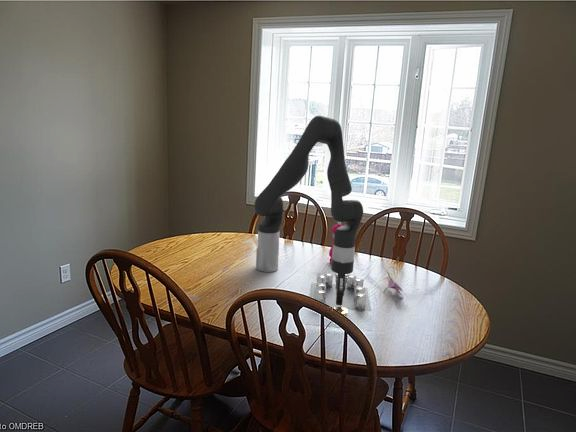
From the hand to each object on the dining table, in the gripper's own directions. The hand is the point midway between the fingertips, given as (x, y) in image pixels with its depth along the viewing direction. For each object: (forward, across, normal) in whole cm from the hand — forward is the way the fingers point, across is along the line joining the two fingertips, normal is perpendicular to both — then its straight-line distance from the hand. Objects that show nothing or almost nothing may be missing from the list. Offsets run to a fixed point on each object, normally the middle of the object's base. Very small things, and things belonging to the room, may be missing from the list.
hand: (338, 304), depth 143 cm
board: (+2, -3, 0) cm, 4 cm away
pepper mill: (+2, -47, -1) cm, 47 cm away
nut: (+1, +7, 0) cm, 7 cm away
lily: (+2, -17, +21) cm, 27 cm away
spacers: (+1, -9, 0) cm, 9 cm away
